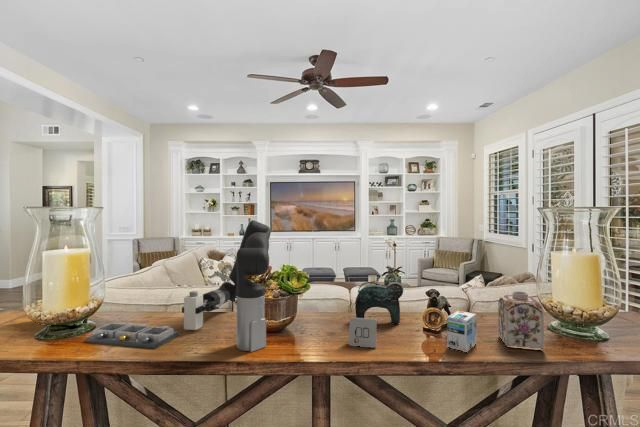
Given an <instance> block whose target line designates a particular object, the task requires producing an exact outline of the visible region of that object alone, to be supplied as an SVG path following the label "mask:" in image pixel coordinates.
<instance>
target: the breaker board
mask: <svg viewBox="0 0 640 427" xmlns="http://www.w3.org/2000/svg"><path fill="white" fill-rule="evenodd" d="M179 333H180V332H179V331H178V330H174V327H171V325H163V326H152V325H149V324H147V323H142V324H130V323H128V322H123V321H122V322H120V323H119V322H111V323H107V324H105V325H102V326H100V327H97V328H95V329H93V335H90V336H88V337H86V338H85V339H86V341H85V342H86V343H91V344H100V345H102V344H103V345H110V346H122V347H129V348H130V347H131V348H132V347H133V348H143V349H151V350H156V349H157V348H159V347H161V346H163V345H164V344H167V343H168V342H170V341H172V340H173V339H175V338H177V337H178V336H180V334H179Z"/></svg>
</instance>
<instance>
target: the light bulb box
mask: <svg viewBox="0 0 640 427" xmlns="http://www.w3.org/2000/svg"><path fill="white" fill-rule="evenodd" d="M477 318H478V315H477V314H476V313H472V312H467V311H463V310H457V311H455V312H453V313H452V314H449V315H447V318H446V319H447V321H446V322H447V323H446V324H447V326H446V327H447V332H446V333H447V334H446V335H447V338H446V339H447V340H446V341H447V342H446V343H447V344H446V345H447V347H450V348H454V349H459V350H464V351H468V350H469V349H470V348H472V347H473V346H474V345H475V344H476V343H477V344H478V342H477V340H478V339H477V337H478V336H477V334H478V333H477V328H478V326H477V325H478V320H477ZM447 347H446V348H447ZM473 348H474V347H473ZM473 348H472V349H473Z"/></svg>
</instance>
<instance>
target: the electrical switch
mask: <svg viewBox="0 0 640 427" xmlns="http://www.w3.org/2000/svg"><path fill="white" fill-rule="evenodd" d="M377 324H378V322H377V319H375V318H366V317H364V318H356V317H350V318H349V329H348V345H349V346H350V347H357V346H360V348H369V347H370V349H371V348H372V349H375V348H377Z"/></svg>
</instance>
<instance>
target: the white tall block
mask: <svg viewBox="0 0 640 427" xmlns="http://www.w3.org/2000/svg"><path fill="white" fill-rule="evenodd" d="M202 305H203V294H199V291H196V290H195V291H194V290H193V291H189V294H188V295H187V296H184V297H183V307H184V313H183V330H189V331H190V330H192V331H196V330H197V331H198V329H200V328H202V327H203V326H204V312H201V313H199V314H196V313H195V309H196V308H197V307H199V306H202Z"/></svg>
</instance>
